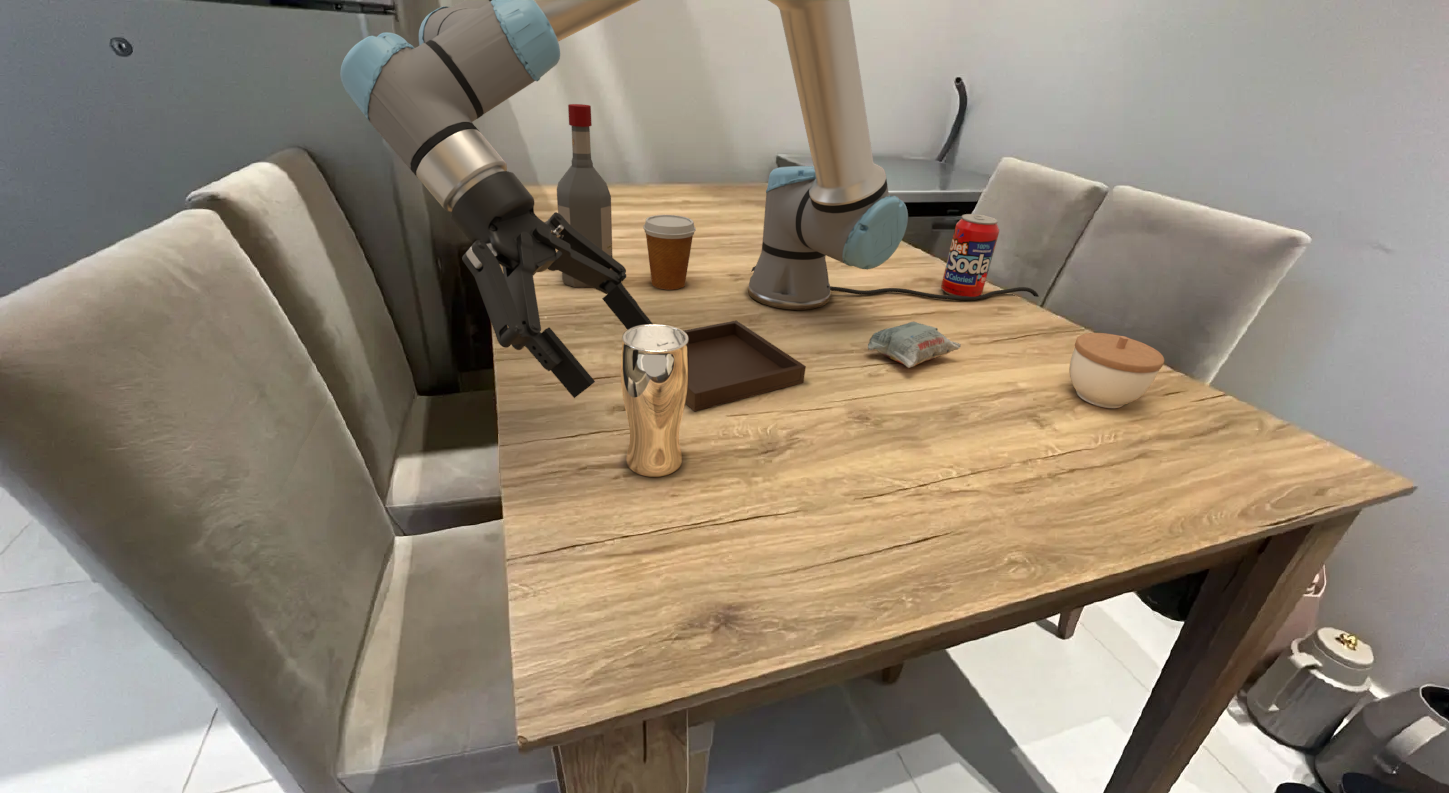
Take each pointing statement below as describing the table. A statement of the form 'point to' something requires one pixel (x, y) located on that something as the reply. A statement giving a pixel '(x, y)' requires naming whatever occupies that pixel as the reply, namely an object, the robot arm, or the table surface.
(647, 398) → the beer glass
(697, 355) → the serving tray
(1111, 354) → the trinket box
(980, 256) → the soda can
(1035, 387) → the table surface
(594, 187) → the liquor
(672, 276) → the disposable coffee cup
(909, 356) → the packaged food
